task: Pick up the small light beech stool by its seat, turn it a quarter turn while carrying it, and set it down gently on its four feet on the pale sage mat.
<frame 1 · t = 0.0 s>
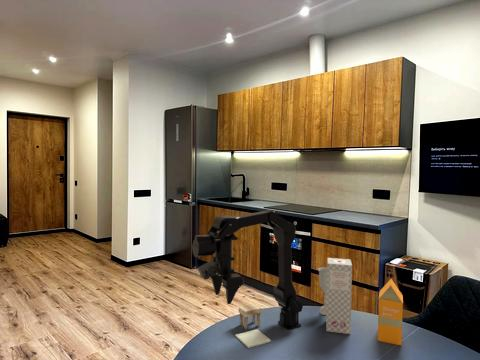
hand: (222, 299, 114), 15 cm above the table, tool pointing down, fingers open, 9 cm apart
chalice: (325, 313, 140), on the table
mat: (252, 338, 117), on the table
stool: (249, 325, 127), on the table
box: (337, 327, 127), on the table
orange juice: (389, 337, 120), on the table
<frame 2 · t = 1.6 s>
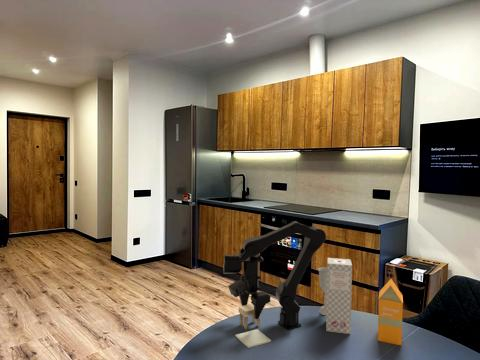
hand: (250, 314, 127), 4 cm above the table, tool pointing down, fingers open, 9 cm apart
nothing on the table moved.
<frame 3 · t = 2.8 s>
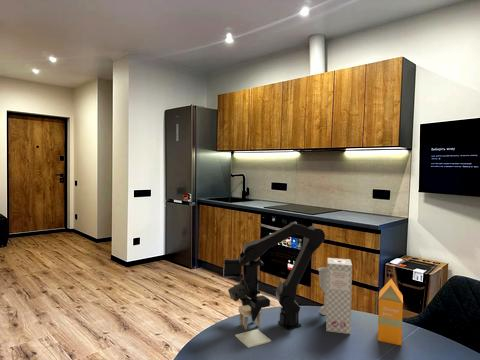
hand: (249, 317, 127), 3 cm above the table, tool pointing down, fingers closed on stool, 5 cm apart
stool: (249, 325, 127), on the table, touching gripper
everything else where it was.
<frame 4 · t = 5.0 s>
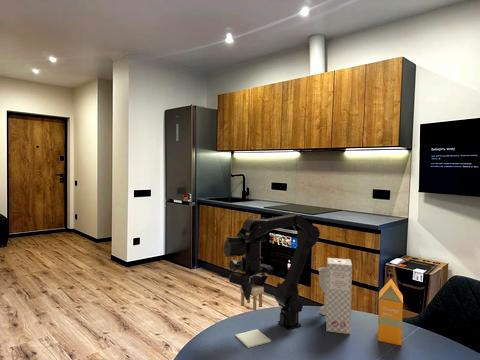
hand: (251, 297, 120), 13 cm above the table, tool pointing down, fingers closed on stool, 5 cm apart
stool: (251, 306, 120), point 10 cm above the table, touching gripper
everything else where it was.
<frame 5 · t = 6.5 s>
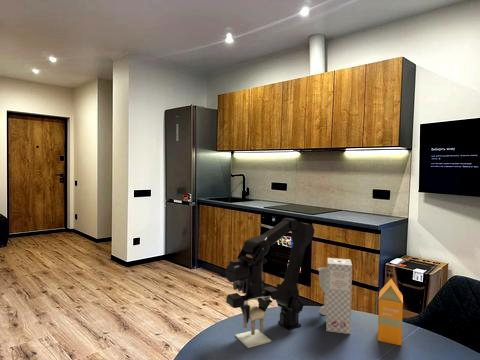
hand: (253, 321, 117), 6 cm above the table, tool pointing down, fingers closed on stool, 5 cm apart
stool: (253, 329, 117), point 3 cm above the table, touching gripper
everything else where it was.
when the fingers open (5 cm above the table, at t = 7.6 s): stool drops 1 cm, resting on mat.
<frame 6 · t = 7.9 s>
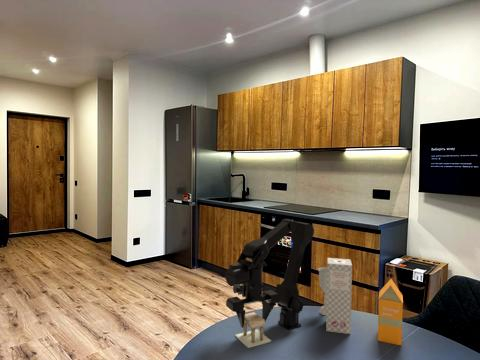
hand: (253, 324, 117), 5 cm above the table, tool pointing down, fingers open, 8 cm apart
stool: (253, 337, 117), point 1 cm above the table, touching mat
everything else where it was.
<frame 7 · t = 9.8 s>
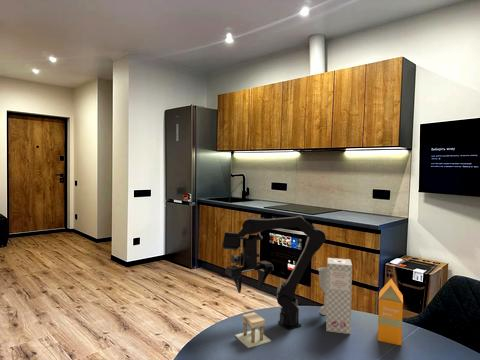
hand: (249, 290, 130), 12 cm above the table, tool pointing down, fingers open, 9 cm apart
nothing on the table moved.
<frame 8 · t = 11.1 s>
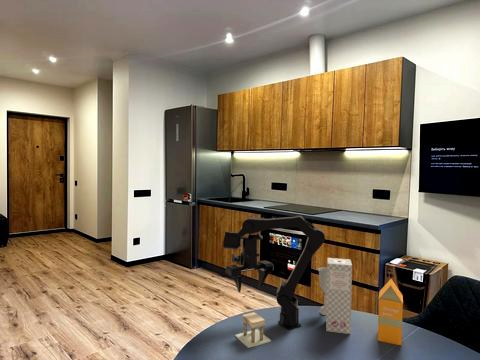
hand: (249, 290, 131), 12 cm above the table, tool pointing down, fingers open, 9 cm apart
nothing on the table moved.
at the end: stool 0.1 cm off-centre on the mat, point 0.5 cm above the mat's base; stool tilted 0°; the gripper is holding nothing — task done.
